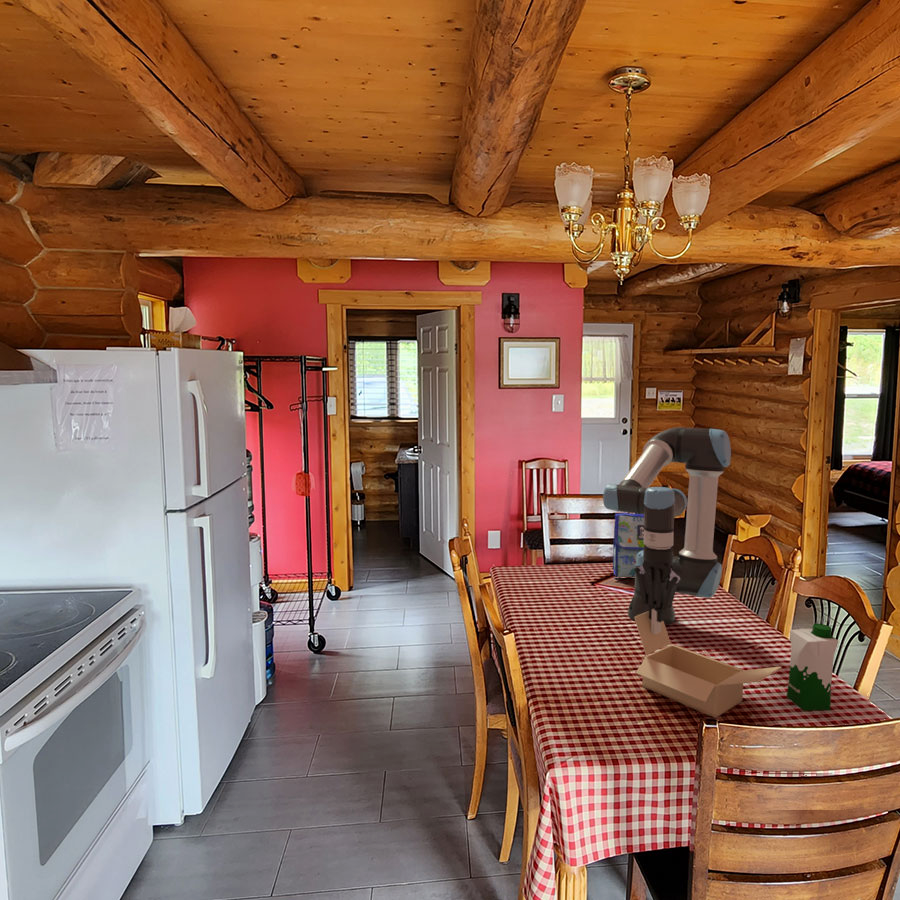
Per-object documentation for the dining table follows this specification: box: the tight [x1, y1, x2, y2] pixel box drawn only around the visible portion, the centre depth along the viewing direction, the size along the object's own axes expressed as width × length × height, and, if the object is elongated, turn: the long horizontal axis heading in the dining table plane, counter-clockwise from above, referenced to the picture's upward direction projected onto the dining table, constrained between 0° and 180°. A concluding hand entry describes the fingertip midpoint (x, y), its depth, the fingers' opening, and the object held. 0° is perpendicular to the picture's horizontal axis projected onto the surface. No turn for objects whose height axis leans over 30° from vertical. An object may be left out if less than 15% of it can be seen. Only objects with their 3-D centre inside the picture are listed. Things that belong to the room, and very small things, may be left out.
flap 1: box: [634, 611, 672, 656], centre depth 175 cm, size 1×11×10 cm, turn 130°
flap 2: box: [720, 666, 783, 685], centre depth 155 cm, size 1×11×10 cm
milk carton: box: [786, 623, 839, 712], centre depth 162 cm, size 9×9×20 cm
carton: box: [635, 644, 744, 719], centre depth 167 cm, size 20×22×8 cm
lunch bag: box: [612, 512, 645, 578], centre depth 263 cm, size 22×17×26 cm
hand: (656, 632), depth 174 cm, fingers closed
